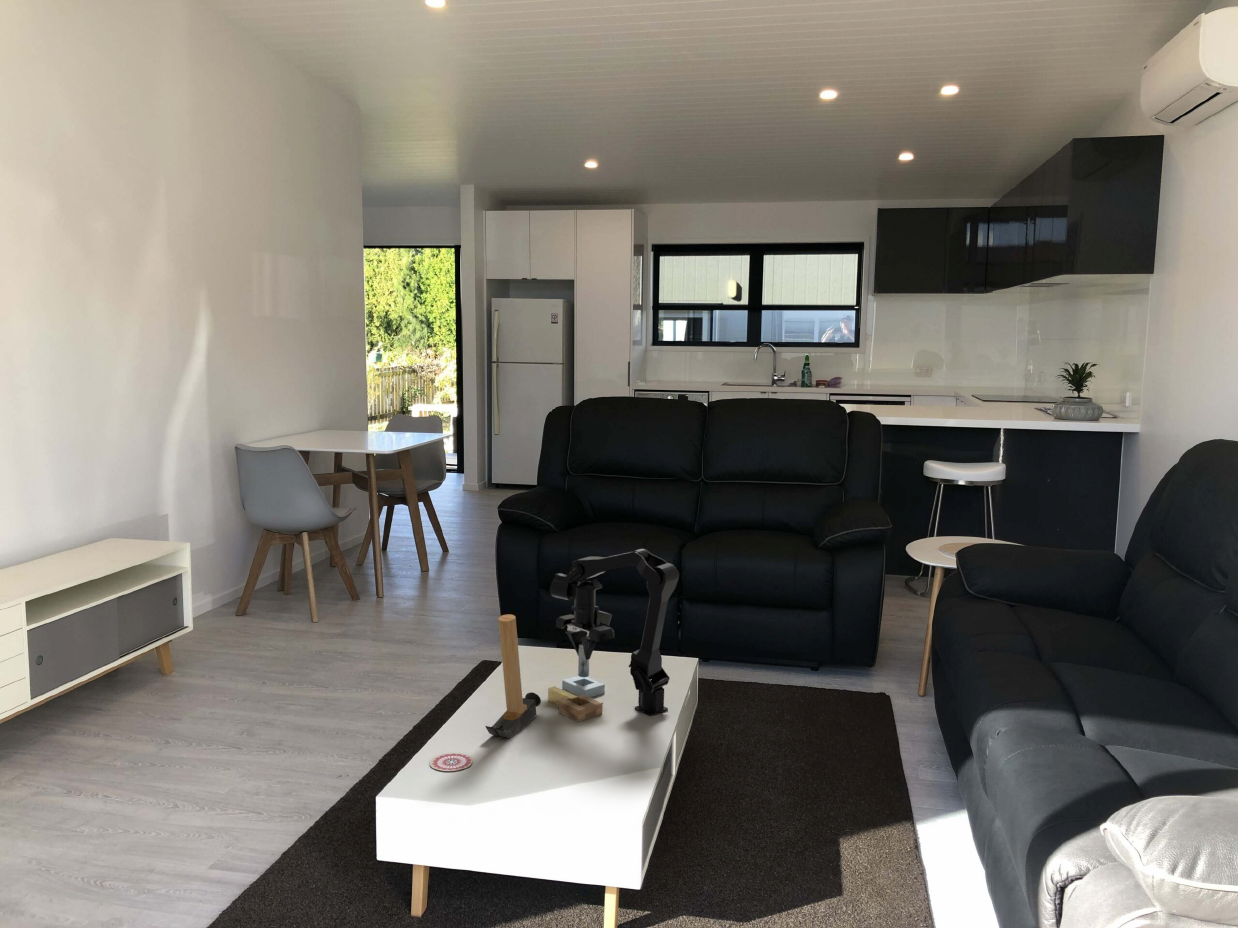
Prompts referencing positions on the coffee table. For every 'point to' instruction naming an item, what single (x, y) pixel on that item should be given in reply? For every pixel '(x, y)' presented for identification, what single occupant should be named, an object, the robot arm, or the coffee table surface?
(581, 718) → the socket block
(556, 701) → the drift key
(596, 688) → the light blue rectangular frame
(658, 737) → the coffee table surface
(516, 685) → the hammer
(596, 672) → the coffee table surface
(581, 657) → the peg
